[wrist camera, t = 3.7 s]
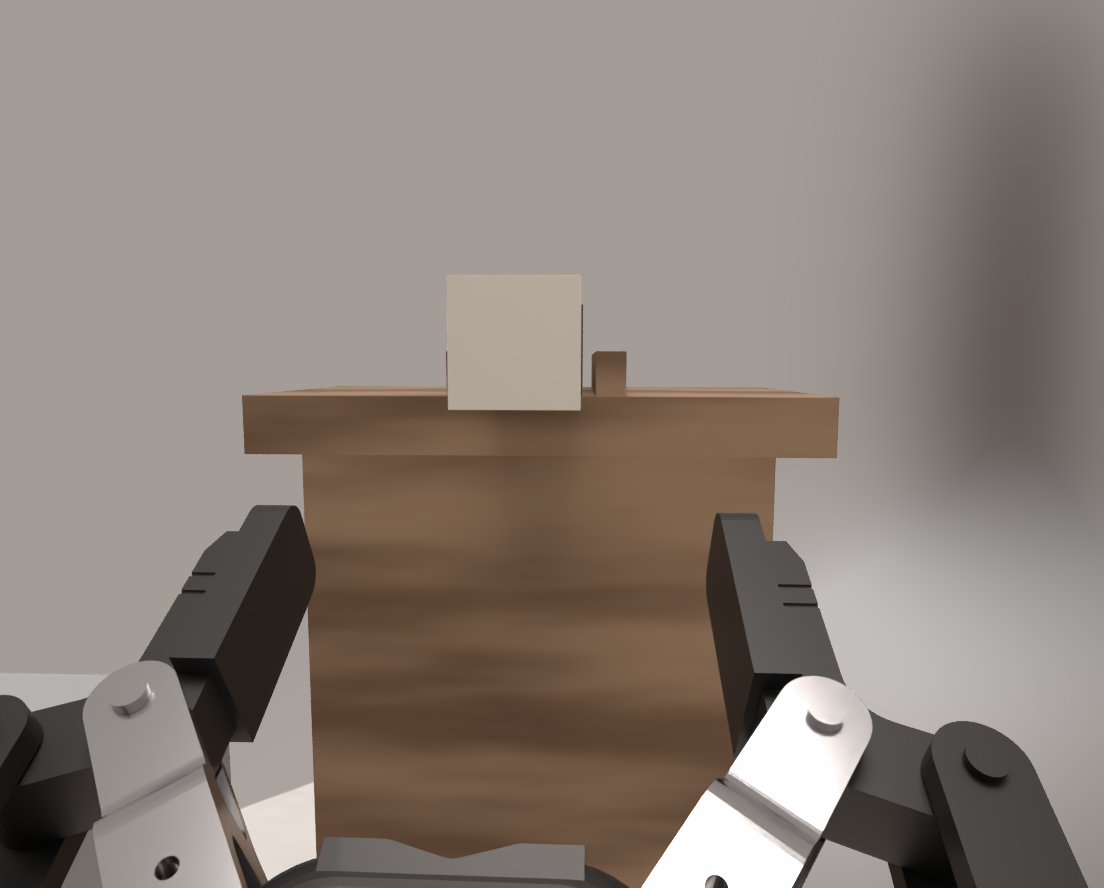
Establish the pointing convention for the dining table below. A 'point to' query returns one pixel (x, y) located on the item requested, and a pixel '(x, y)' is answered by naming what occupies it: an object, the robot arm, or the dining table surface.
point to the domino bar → (514, 342)
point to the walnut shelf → (524, 605)
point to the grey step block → (52, 691)
